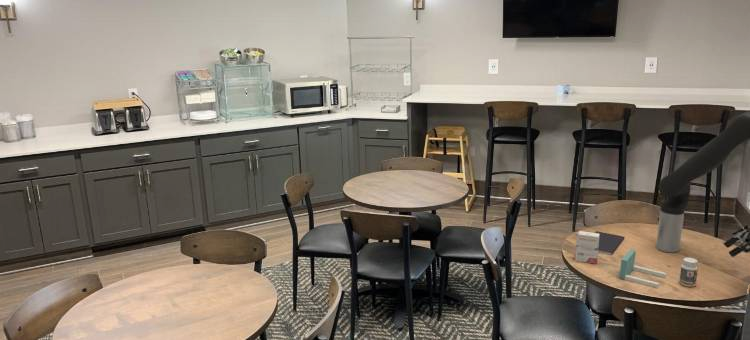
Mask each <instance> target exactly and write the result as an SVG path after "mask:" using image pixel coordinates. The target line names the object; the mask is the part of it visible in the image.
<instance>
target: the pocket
mask: <svg viewBox="0 0 750 340" xmlns="http://www.w3.org/2000/svg"><path fill="white" fill-rule="evenodd" d="M635 261H636V249H632V248H631V249H629V250H628V251H627V252H626V254H625V255H624V256H623V257H622V258H621V260H620V267H619V268H620V270H619V279H621V280H623V281H628V282H632V283H636V284H639V285H644V286H646V287H647V286H648V287H651V288H655V289H658V288H659V286H660V283H659V282H656V281H652V280H650V279H649V280H648V279H644V278H639V277H635V276H632V275H630V274H631V273H632V271H635V272H640V273H644V274H647V275H650V276H655V277H659V278H663V279H664V278H666V276H667V272H663V271H658V270H655V269H650V268H647V267H642V266H638V265H635Z"/></svg>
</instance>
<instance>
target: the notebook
mask: <svg viewBox="0 0 750 340" xmlns="http://www.w3.org/2000/svg"><path fill="white" fill-rule="evenodd" d="M594 233H598V234H600V235H599V247H598V253H601V254H606V255H610V256H613V254H615V252H616V251H617V249H618V248H619V247H620V246H621V244H622V243H623V242H624V240H625V238H626V236H623V235H618V234H614V233H607V232H603V231H597V230H596V231H594Z"/></svg>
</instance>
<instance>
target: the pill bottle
mask: <svg viewBox="0 0 750 340" xmlns="http://www.w3.org/2000/svg"><path fill="white" fill-rule="evenodd" d="M680 266H681V267H680V271H679V272H680V273H679V280H678V282H679V284H681V285H682V286H684V287H688V288H689V287H695V286H696V285H697V277H698V272H699V267H698V260H697V259H696V258H693V257H684V258H683V259H682V264H681V265H680Z"/></svg>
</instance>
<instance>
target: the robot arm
mask: <svg viewBox="0 0 750 340" xmlns="http://www.w3.org/2000/svg"><path fill="white" fill-rule="evenodd" d="M747 140H750V111H746V112H743V113H740V114H738V116H736V117H735V118H734V119H733V121H731V122H730V124H728V126H727V127H725V129H724V130H722V132H721V133H719V134H718V135H717V136H716V137H714V138H712V139H711V140H709V142H706V143H705V144H704V145H703V146H702V147H701V148H700V149H698V150H697V151H696V152H694V154H693V155H691V156H690V157H689V158H688V159H687V160H686V161H684V162H683V163H682V164H681V165H680V166H678V168H676V169H674V170H673V171H671V172H670V173H669V174H667V175H665V176H664V177H662V179H660V181H659V184H658V191H659V194H660V195H662V196H663V197H665V200H664V201H662V203H661V205H660V209H659V210H660V211H659V219H658V227H657V235H656V242H655V243H656V244H655V248H656V249H657V250H659V251H661V252H665V253H677V252H679V251H680V247H681V241H682V233H683V226H684V219H685V218H684V217H685V212H686V211H685V209H686V208H687V206H688V205H689V201H690V200H689V198H690V193H691V182H693V181H694V180H697V179H698V178H701V177H702V176H705V175H707V174H709V173H710V172H712V171H714V170H715V169H717V168H718V167H719V166H720V165H722V164H723V163H724V162H726V161H727V159H728V157H729V156H730V155H731V154H732V152H733V151H734V149H736V148H737V147H738V146H740V145H741V144H743V143H744V142H746V141H747ZM738 242H740V243H739V244H738V246H736V247H734V248H733V249H731V250H730V251H728V254H729V255H730V257H731V258H734V257H736V256H737V255H740V254H741V253H742V252H743V253H745V254H747V253H749V252H750V226H749V225H747V224H745V225H743V226H742V227H740V228H738V229H737V230H735V231H734V232H732V236H731V237H730V238H729V239H727V240H726V241H724V242H723V246H725V247H726V248H727V249H728V248H731V247H732V246H734V245H735V244H736V243H738Z"/></svg>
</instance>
